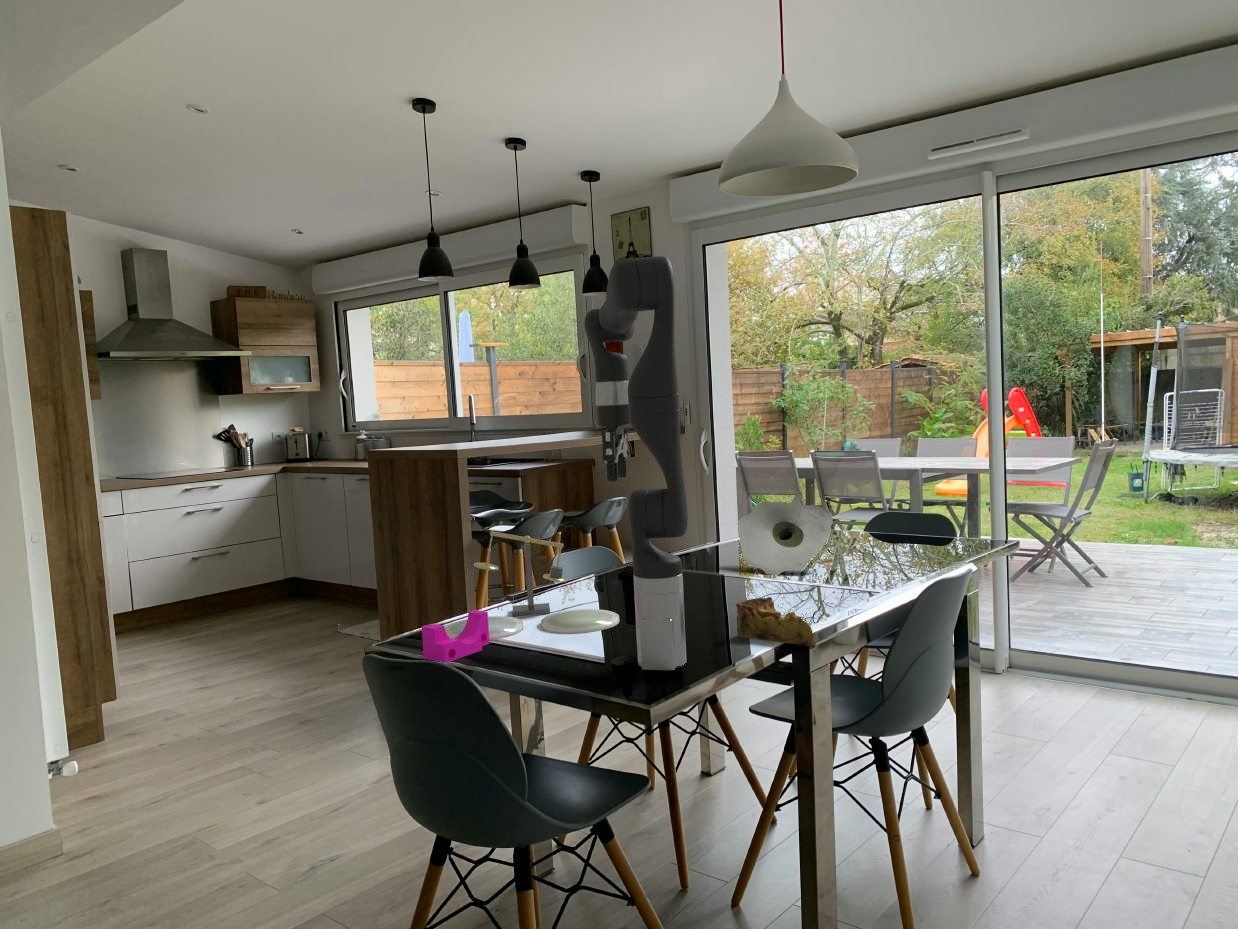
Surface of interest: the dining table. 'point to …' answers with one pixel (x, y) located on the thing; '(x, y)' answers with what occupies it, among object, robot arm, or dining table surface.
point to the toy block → (464, 644)
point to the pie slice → (771, 623)
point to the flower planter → (783, 535)
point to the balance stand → (530, 592)
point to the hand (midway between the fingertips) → (617, 478)
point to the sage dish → (579, 621)
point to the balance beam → (555, 570)
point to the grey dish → (490, 627)
